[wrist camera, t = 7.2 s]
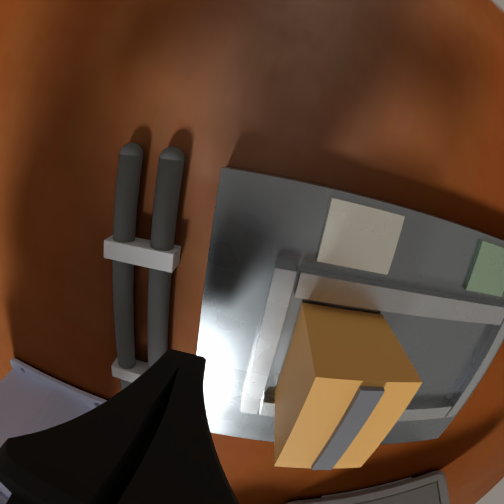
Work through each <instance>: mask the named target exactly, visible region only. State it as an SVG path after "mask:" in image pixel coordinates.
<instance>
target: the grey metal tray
mask: <svg viewBox="0 0 504 504" xmlns="http://www.w3.org/2000/svg"><path fill="white" fill-rule="evenodd" d="M302 302H303V303H309V304H316V305H322V306H328V307H334V308H341V309H347V310H354V311H361V312H368V313H375V314H382V315H383V316H384V318H385V320H386V321H387V323H388V324H389V326H390V328H391V329H392V331H393V333H394V334H395V336H396V337H397V339H398V341H399V342H400V344H401V346H402V348H403V349H404V351H405V353H406V354H407V356H408V358H409V360H410V361H411V363H412V365H413V366H414V368H415V370H416V372H417V374H418V375H419V377H420V379H421V381H422V384H421V386H420V387H419V389H418V390H417V392H416V394H415V395H414V397H413V398H412V400H411V401H410V403H409V404H408V406H407V407H406V409H405V410H404V412H403V413H402V415H401V416H400V418H399V419H398V420H397V422H396V423H395V425H394V426H393V427H392V429H391V430H390V431H389V433H388V434H387V435H386V437H385V438H384V439H383V441H382V442H381V443H380V444H392V443H404V442H414V441H422V440H429V439H436V438H438V437H439V436H440V435H441V434H442V433H443V431H444V430H445V429H446V428H447V426H448V425H449V424H450V423H451V421H452V420H453V419H454V417H455V416H456V415H457V413H458V412H459V411H460V409H461V408H462V407H463V405H464V404H465V402H466V401H467V400H468V398H469V397H470V395H471V394H472V392H473V391H474V389H475V388H476V386H477V385H478V383H479V382H480V380H481V379H482V377H483V375H484V374H485V372H486V371H487V369H488V367H489V365H490V364H491V362H492V360H493V359H494V357H495V355H496V353H497V351H498V350H499V348H500V346H501V344H502V342H503V340H504V239H501V238H498V237H496V236H493V235H491V234H488V233H485V232H482V231H480V230H477V229H474V228H471V227H468V226H466V225H463V224H460V223H457V222H454V221H451V220H448V219H445V218H442V217H439V216H436V215H432V214H429V213H426V212H423V211H420V210H416V209H413V208H410V207H406V206H403V205H399V204H396V203H392V202H389V201H385V200H381V199H378V198H374V197H370V196H366V195H362V194H359V193H355V192H351V191H347V190H342V189H338V188H334V187H330V186H325V185H321V184H317V183H312V182H308V181H303V180H298V179H293V178H289V177H284V176H279V175H273V174H268V173H263V172H258V171H252V170H246V169H241V168H235V167H229V166H225V167H222V169H221V175H220V181H219V187H218V193H217V199H216V206H215V212H214V219H213V226H212V233H211V240H210V247H209V254H208V261H207V269H206V277H205V285H204V293H203V301H202V309H201V318H200V327H199V336H198V346H197V355H198V356H203V357H204V358H205V359H206V367H205V375H204V383H203V389H204V400H205V408H206V414H207V419H208V424H209V429H210V432H212V433H218V434H223V435H229V436H235V437H241V438H248V439H255V440H263V441H272V442H274V427H275V388H276V385H277V382H278V379H279V376H280V373H281V370H282V367H283V364H284V361H285V357H286V354H287V351H288V348H289V345H290V341H291V338H292V335H293V331H294V328H295V325H296V321H297V318H298V314H299V311H300V307H301V304H302Z"/></svg>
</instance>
